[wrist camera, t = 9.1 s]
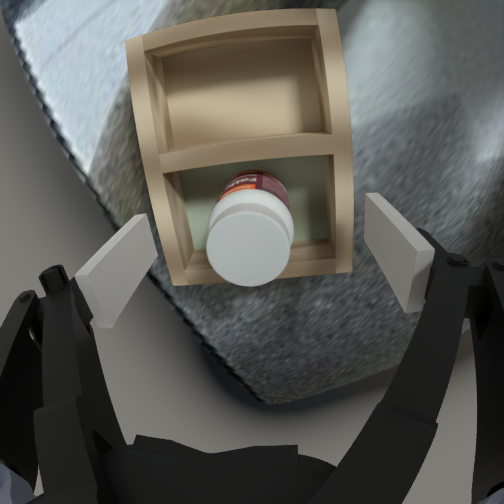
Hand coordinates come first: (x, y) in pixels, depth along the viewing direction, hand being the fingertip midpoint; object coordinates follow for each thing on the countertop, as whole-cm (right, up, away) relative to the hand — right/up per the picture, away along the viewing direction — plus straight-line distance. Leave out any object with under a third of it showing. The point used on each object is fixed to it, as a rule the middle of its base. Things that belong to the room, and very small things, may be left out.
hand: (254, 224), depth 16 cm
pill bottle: (0, +2, +6) cm, 6 cm away
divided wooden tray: (0, +6, +4) cm, 8 cm away
